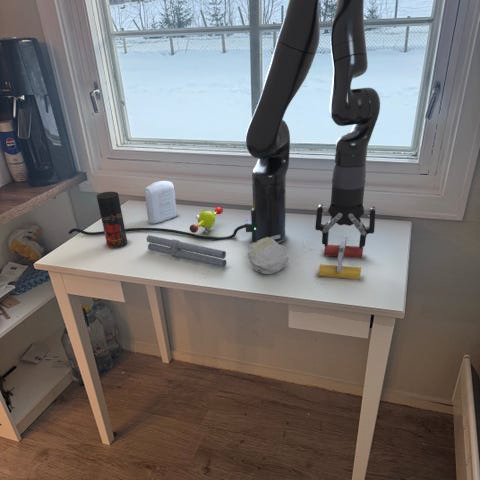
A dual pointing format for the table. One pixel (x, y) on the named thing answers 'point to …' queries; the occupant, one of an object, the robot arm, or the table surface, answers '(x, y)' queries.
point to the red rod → (349, 251)
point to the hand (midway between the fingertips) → (343, 246)
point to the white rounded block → (160, 201)
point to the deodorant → (112, 219)
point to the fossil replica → (267, 256)
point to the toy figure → (206, 220)
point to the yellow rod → (345, 273)
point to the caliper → (341, 254)
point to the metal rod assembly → (179, 248)
